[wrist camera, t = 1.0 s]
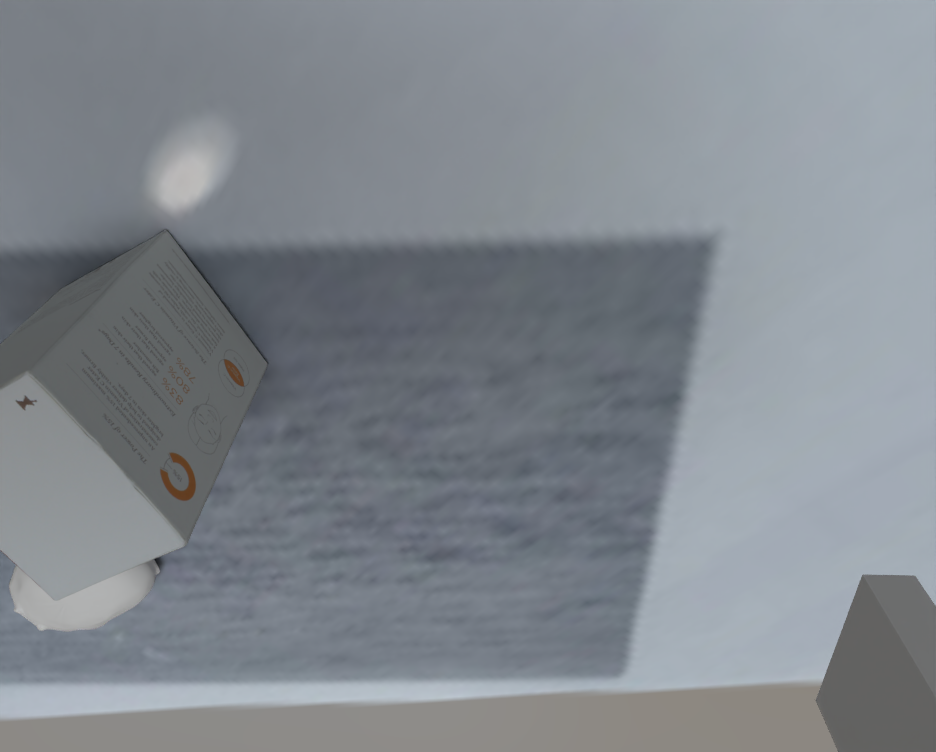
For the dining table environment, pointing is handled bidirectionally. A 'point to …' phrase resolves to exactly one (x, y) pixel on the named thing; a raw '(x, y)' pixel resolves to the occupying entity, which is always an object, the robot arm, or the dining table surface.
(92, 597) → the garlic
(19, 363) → the small box
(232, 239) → the dining table surface
